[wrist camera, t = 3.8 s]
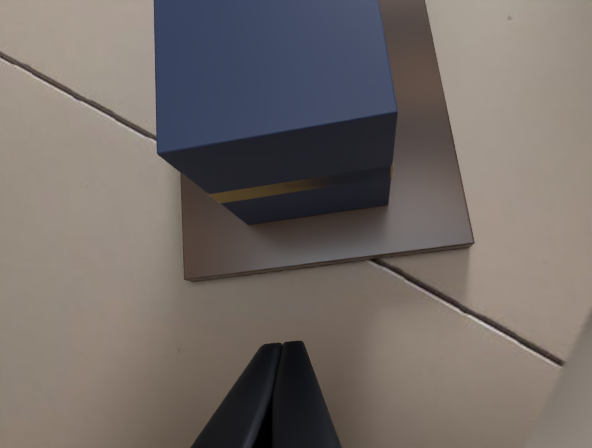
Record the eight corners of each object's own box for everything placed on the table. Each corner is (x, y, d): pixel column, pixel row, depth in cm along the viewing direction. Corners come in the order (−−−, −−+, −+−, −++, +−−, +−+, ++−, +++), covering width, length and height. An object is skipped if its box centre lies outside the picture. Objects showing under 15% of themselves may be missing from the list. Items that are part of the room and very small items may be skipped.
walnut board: (470, 247, 17) (475, 243, 17) (191, 281, 19) (183, 280, 18) (388, -158, 23) (389, -175, 22) (176, -102, 25) (170, -116, 24)
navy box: (389, 204, 18) (399, 112, 10) (247, 225, 18) (154, 154, 11) (356, -1, 20) (344, -203, 12) (232, 26, 21) (149, -147, 13)
